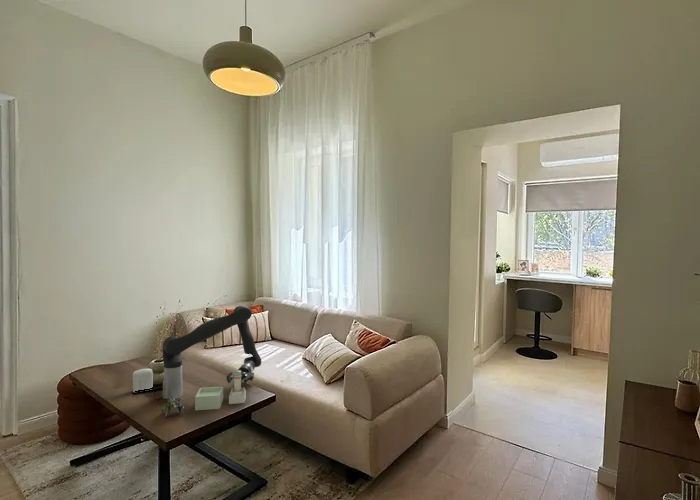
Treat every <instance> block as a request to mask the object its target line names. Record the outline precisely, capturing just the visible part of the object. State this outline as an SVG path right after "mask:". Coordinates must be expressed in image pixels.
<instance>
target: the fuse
mask: <svg viewBox="0 0 700 500" xmlns="http://www.w3.org/2000/svg"><path fill="white" fill-rule="evenodd" d="M233 374H234V380H233V385H234V387H233V388H234V392H241V387H242V380H241V370H238V369H237V370H234V371H233Z"/></svg>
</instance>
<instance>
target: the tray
mask: <svg viewBox="0 0 700 500" xmlns="http://www.w3.org/2000/svg"><path fill="white" fill-rule="evenodd" d="M223 400H224V386H212V387H211V386H209V387H199V389H198V391H197V393H196V395H195V396H194V411H206V410H219V409H221V406H222V403H223Z"/></svg>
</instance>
